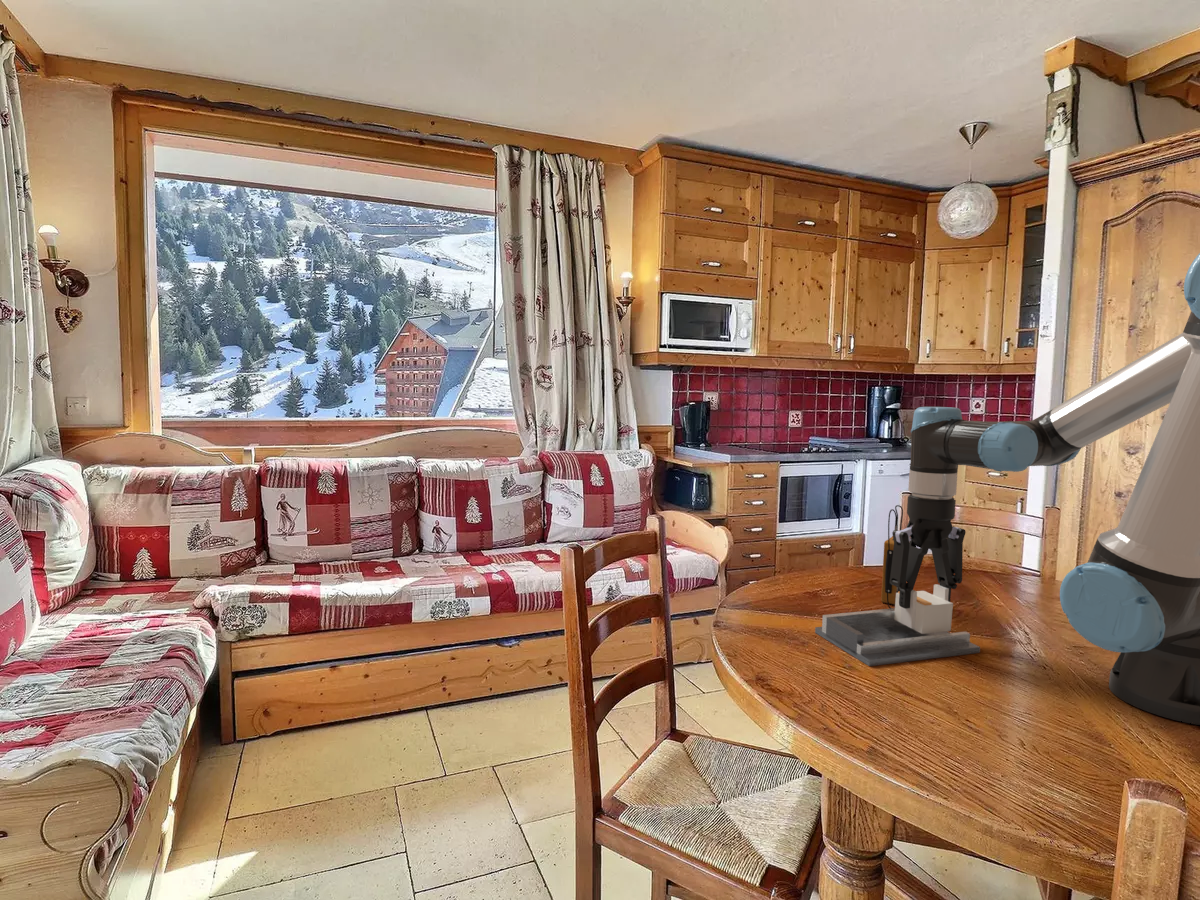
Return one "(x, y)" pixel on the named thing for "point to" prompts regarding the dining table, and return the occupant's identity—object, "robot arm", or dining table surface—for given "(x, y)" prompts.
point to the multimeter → (889, 565)
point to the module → (929, 613)
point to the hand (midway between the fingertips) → (923, 623)
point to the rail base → (889, 638)
